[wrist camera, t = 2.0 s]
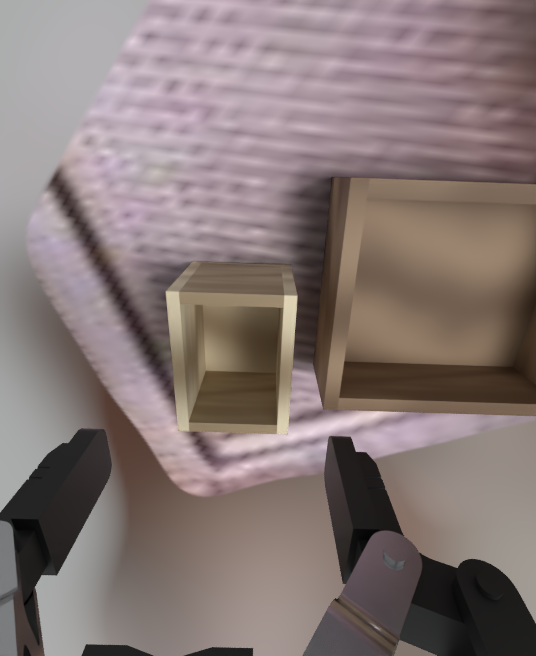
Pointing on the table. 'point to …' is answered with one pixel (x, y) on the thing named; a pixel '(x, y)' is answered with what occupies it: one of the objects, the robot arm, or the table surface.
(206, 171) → the table surface
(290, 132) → the table surface
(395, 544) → the robot arm
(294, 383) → the table surface
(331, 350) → the walnut crate
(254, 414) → the pine crate
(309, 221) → the table surface
